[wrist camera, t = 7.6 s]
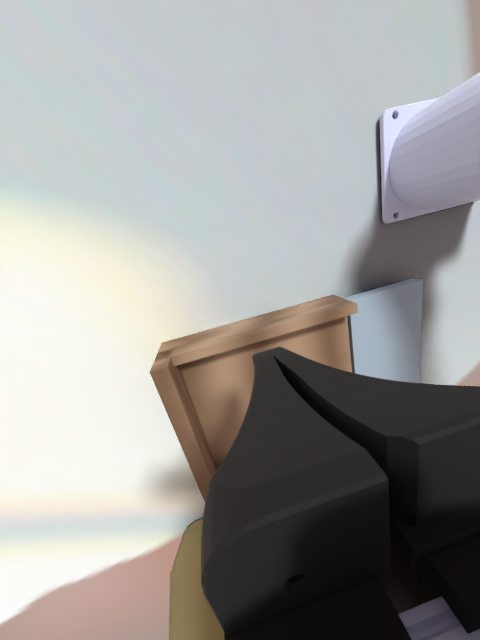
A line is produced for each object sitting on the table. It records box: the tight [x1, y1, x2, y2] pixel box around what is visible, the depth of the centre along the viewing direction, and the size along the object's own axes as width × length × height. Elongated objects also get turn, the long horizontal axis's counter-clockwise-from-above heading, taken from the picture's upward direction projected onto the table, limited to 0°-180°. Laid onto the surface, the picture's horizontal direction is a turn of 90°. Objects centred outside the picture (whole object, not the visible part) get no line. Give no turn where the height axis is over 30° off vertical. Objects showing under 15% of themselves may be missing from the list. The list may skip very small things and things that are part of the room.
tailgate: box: [343, 278, 423, 383], centre depth 22 cm, size 1×14×7 cm
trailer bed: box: [150, 295, 358, 502], centre depth 20 cm, size 16×14×5 cm
